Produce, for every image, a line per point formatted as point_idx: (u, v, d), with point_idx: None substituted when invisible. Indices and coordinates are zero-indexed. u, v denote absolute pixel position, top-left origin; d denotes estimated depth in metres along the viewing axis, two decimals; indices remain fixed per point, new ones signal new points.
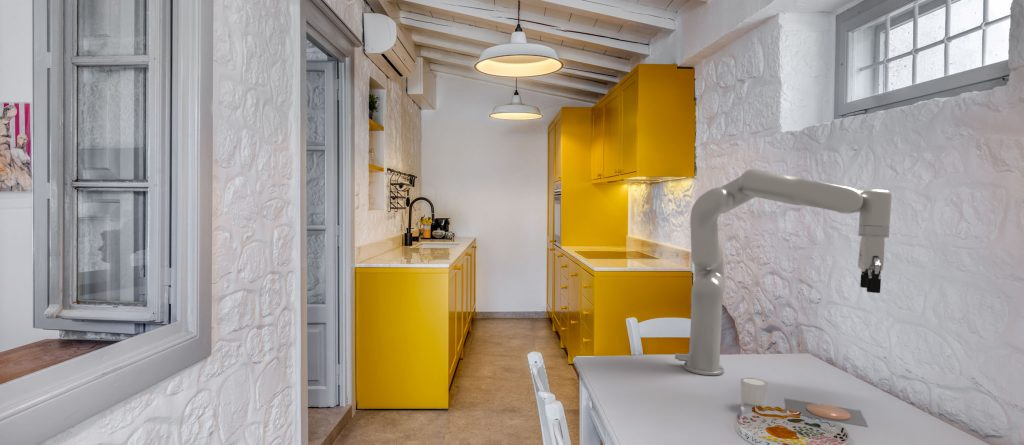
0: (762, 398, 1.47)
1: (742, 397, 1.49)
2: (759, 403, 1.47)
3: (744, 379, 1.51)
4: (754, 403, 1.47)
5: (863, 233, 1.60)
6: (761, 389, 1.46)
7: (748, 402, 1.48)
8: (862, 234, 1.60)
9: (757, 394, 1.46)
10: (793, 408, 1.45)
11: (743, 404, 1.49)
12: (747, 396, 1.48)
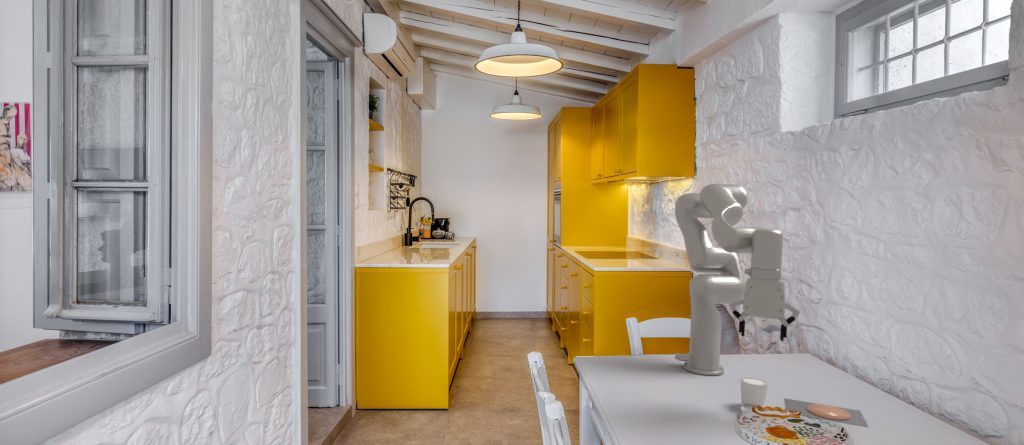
0: (762, 398, 1.47)
1: (742, 397, 1.49)
2: (759, 403, 1.47)
3: (744, 379, 1.51)
4: (754, 403, 1.47)
5: (775, 278, 1.45)
6: (761, 389, 1.46)
7: (748, 402, 1.48)
8: (773, 280, 1.45)
9: (757, 394, 1.46)
10: (793, 408, 1.45)
11: (743, 404, 1.49)
12: (747, 396, 1.48)
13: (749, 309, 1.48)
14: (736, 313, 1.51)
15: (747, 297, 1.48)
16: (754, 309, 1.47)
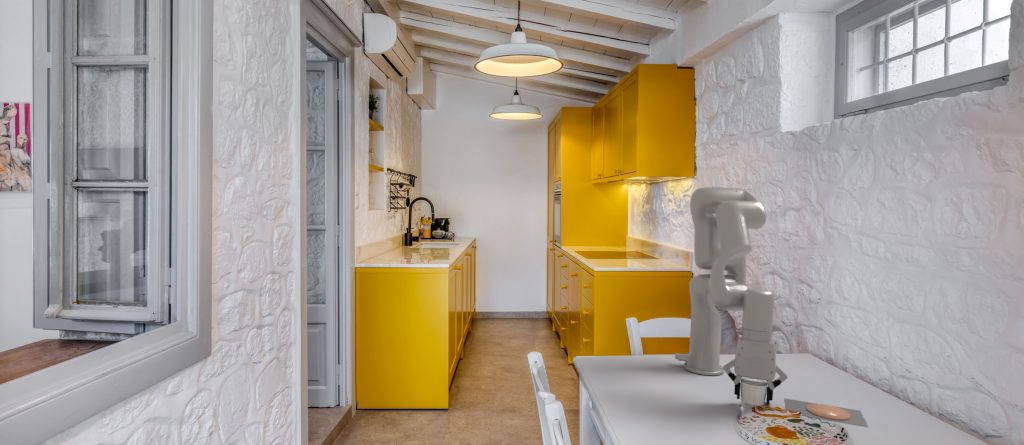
0: (762, 398, 1.47)
1: (742, 397, 1.49)
2: (759, 403, 1.47)
3: (744, 379, 1.51)
4: (754, 403, 1.47)
5: (766, 340, 1.45)
6: (761, 389, 1.46)
7: (748, 402, 1.48)
8: (765, 341, 1.45)
9: (757, 394, 1.46)
10: (793, 408, 1.45)
11: (743, 404, 1.49)
12: (747, 396, 1.48)
13: (740, 369, 1.48)
14: (732, 375, 1.51)
15: (738, 357, 1.48)
16: (745, 370, 1.48)
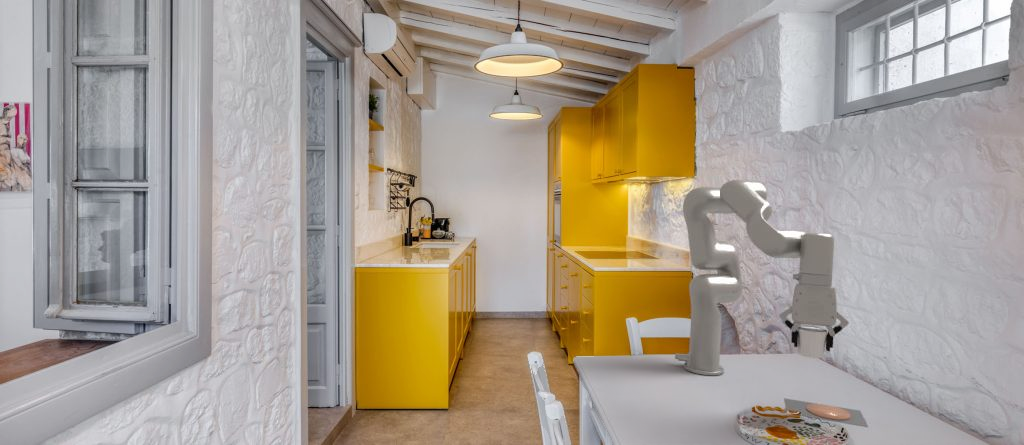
0: (822, 345, 1.41)
1: (800, 345, 1.44)
2: (819, 350, 1.41)
3: (801, 327, 1.46)
4: (813, 350, 1.41)
5: (826, 284, 1.40)
6: (821, 335, 1.41)
7: (807, 349, 1.42)
8: (825, 285, 1.40)
9: (817, 341, 1.41)
10: (793, 408, 1.45)
11: (801, 352, 1.44)
12: (806, 343, 1.42)
13: (798, 316, 1.43)
14: (789, 323, 1.45)
15: (796, 303, 1.43)
16: (804, 316, 1.42)
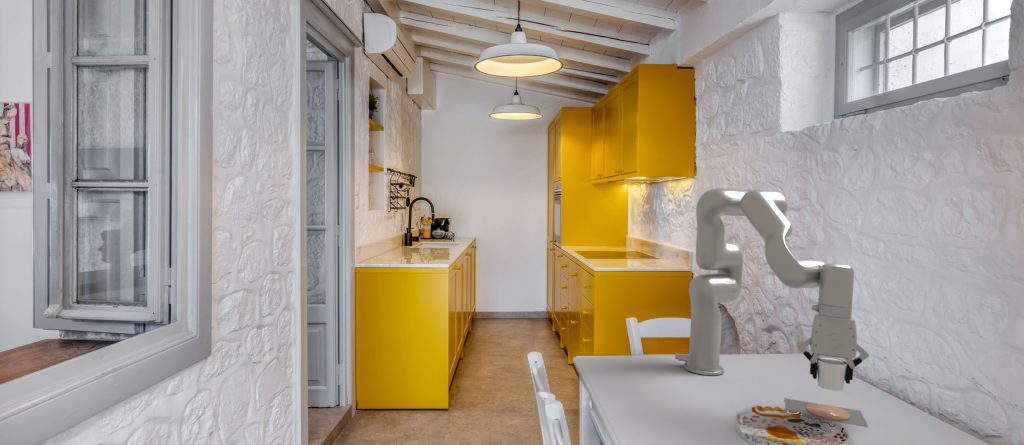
0: (842, 377, 1.40)
1: (819, 377, 1.43)
2: (839, 382, 1.40)
3: (821, 358, 1.44)
4: (833, 383, 1.40)
5: (846, 316, 1.39)
6: (841, 368, 1.39)
7: (827, 382, 1.41)
8: (845, 318, 1.39)
9: (837, 373, 1.40)
10: (793, 408, 1.45)
11: (821, 384, 1.42)
12: (826, 375, 1.41)
13: (818, 348, 1.41)
14: (808, 354, 1.44)
15: (816, 335, 1.42)
16: (824, 348, 1.41)
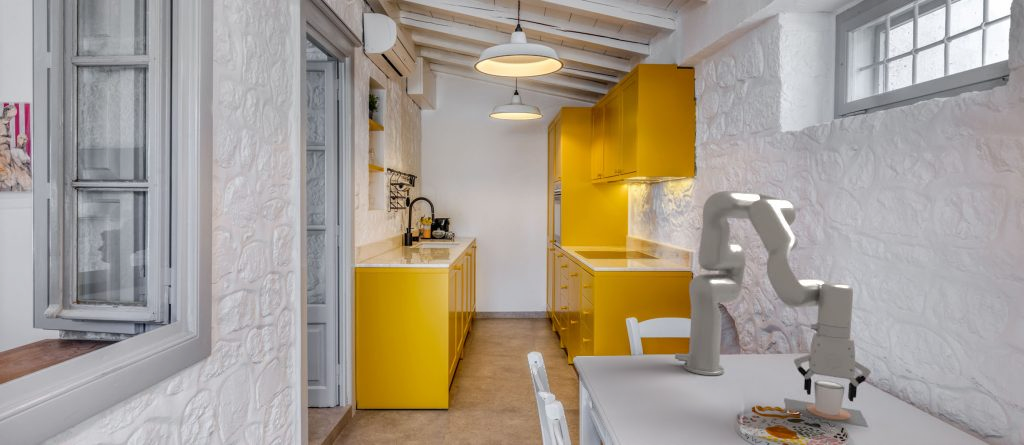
0: (839, 402, 1.41)
1: (817, 401, 1.43)
2: (836, 407, 1.40)
3: (818, 382, 1.45)
4: (831, 407, 1.41)
5: (845, 336, 1.39)
6: (838, 392, 1.40)
7: (824, 406, 1.41)
8: (844, 338, 1.39)
9: (834, 398, 1.40)
10: (793, 408, 1.45)
11: (818, 408, 1.43)
12: (823, 400, 1.41)
13: (817, 367, 1.42)
14: (802, 370, 1.45)
15: (814, 354, 1.42)
16: (822, 367, 1.41)
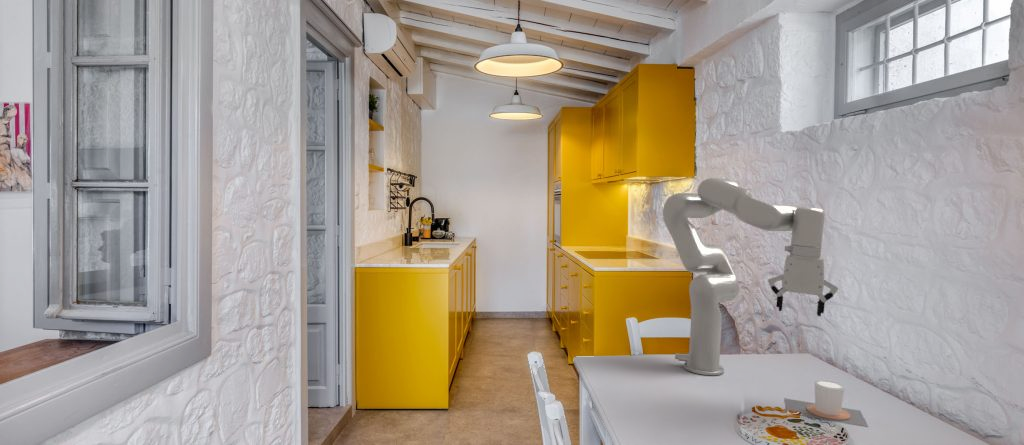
0: (839, 402, 1.41)
1: (817, 401, 1.43)
2: (836, 407, 1.40)
3: (818, 382, 1.45)
4: (831, 407, 1.41)
5: (815, 256, 1.49)
6: (838, 392, 1.40)
7: (824, 406, 1.41)
8: (814, 257, 1.49)
9: (834, 398, 1.40)
10: (793, 408, 1.45)
11: (818, 408, 1.43)
12: (823, 400, 1.41)
13: (788, 285, 1.52)
14: (774, 288, 1.56)
15: (787, 273, 1.53)
16: (793, 285, 1.52)
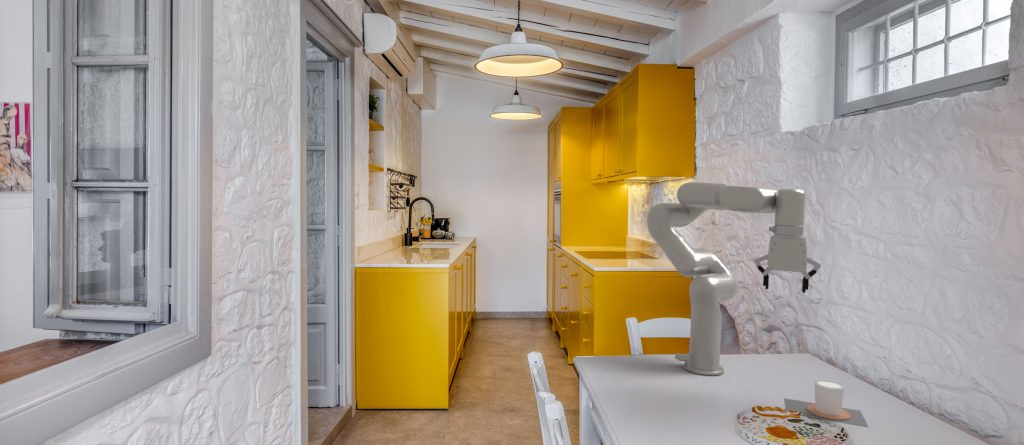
0: (839, 402, 1.41)
1: (817, 401, 1.43)
2: (836, 407, 1.40)
3: (818, 382, 1.45)
4: (831, 407, 1.41)
5: (798, 234, 1.56)
6: (838, 392, 1.40)
7: (824, 406, 1.41)
8: (797, 235, 1.56)
9: (834, 398, 1.40)
10: (793, 408, 1.45)
11: (818, 408, 1.43)
12: (823, 400, 1.41)
13: (773, 263, 1.59)
14: (761, 268, 1.62)
15: (771, 252, 1.59)
16: (778, 263, 1.58)
